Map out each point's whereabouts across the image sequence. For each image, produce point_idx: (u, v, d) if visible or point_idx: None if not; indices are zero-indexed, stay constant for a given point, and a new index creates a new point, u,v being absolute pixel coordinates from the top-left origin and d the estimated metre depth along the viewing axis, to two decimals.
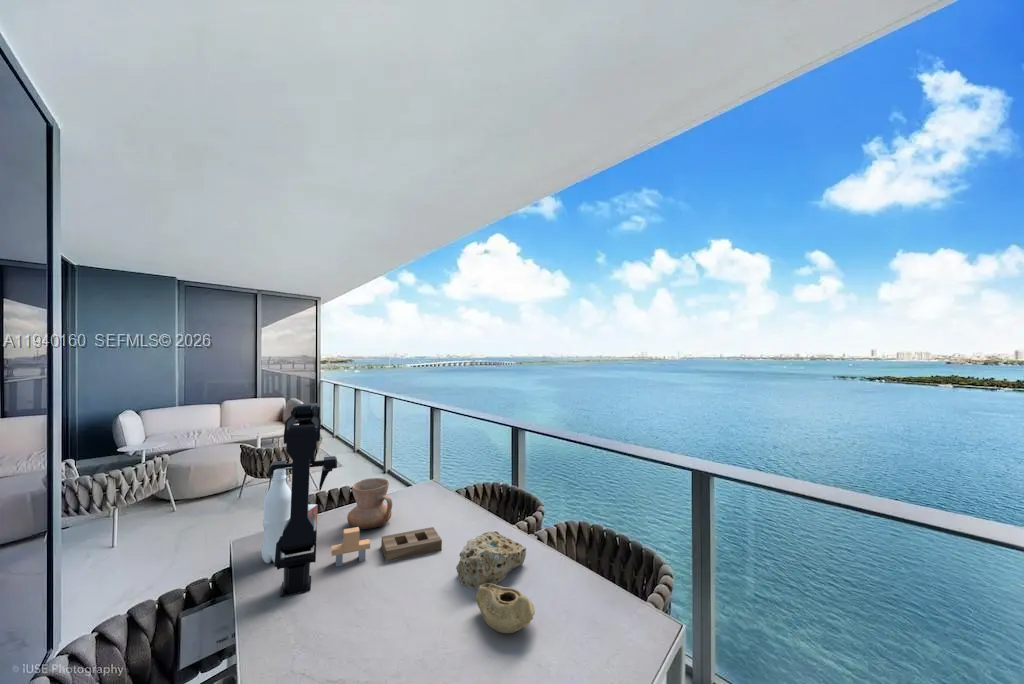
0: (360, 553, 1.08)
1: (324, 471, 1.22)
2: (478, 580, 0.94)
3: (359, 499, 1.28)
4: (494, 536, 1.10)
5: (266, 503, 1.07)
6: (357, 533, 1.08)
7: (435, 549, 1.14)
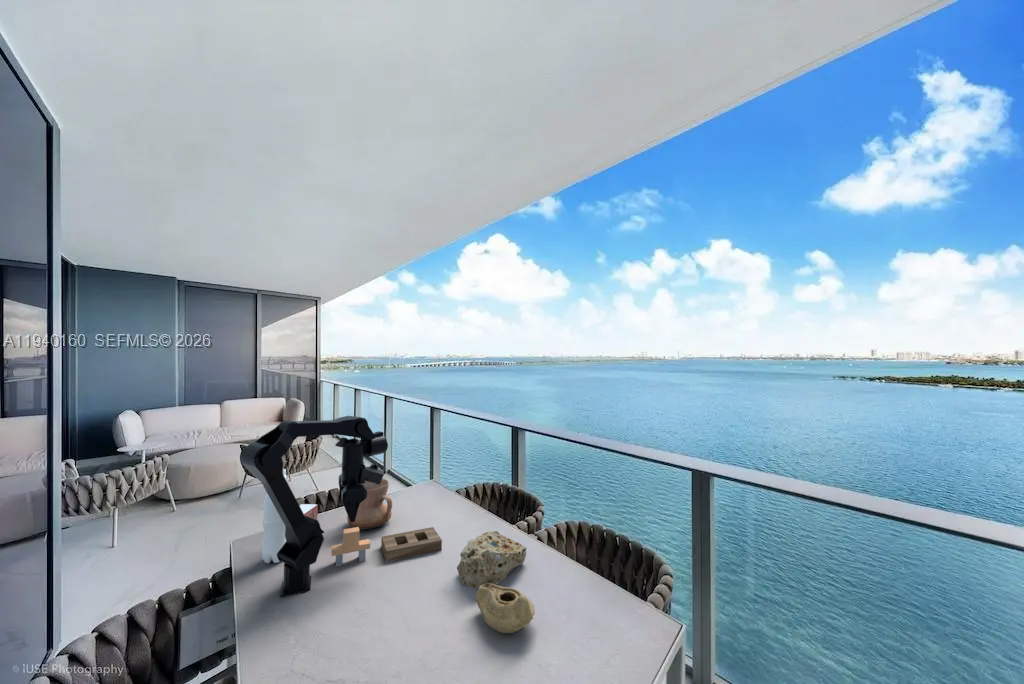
0: (360, 553, 1.08)
1: None
2: (479, 580, 0.94)
3: None
4: (494, 536, 1.10)
5: (266, 503, 1.07)
6: (357, 533, 1.08)
7: (435, 549, 1.14)
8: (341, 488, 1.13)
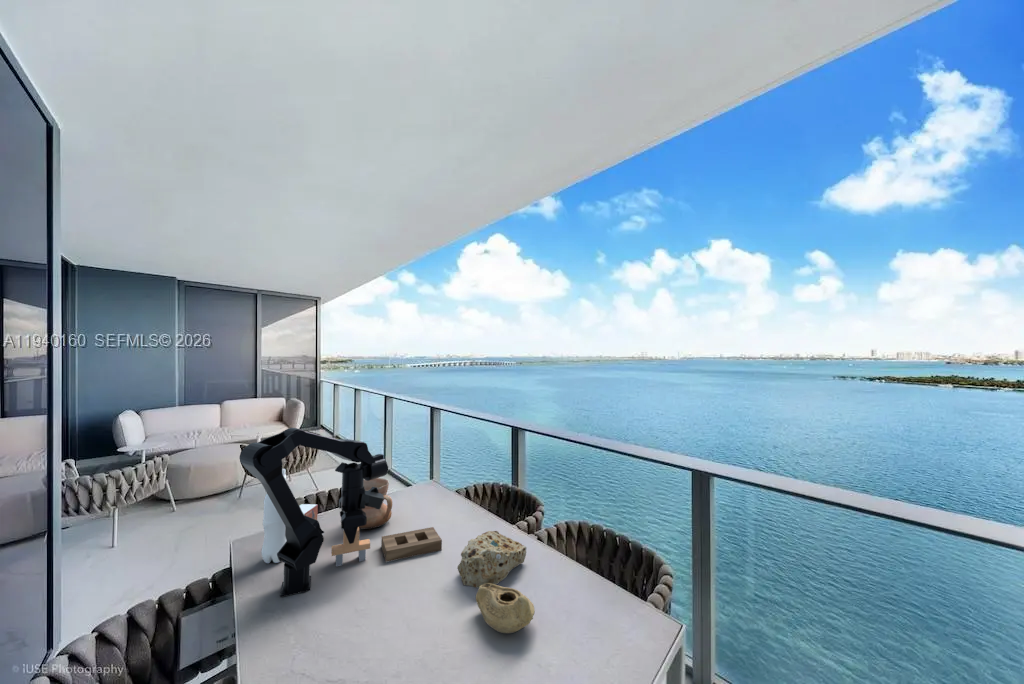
0: (360, 553, 1.08)
1: None
2: (480, 579, 0.95)
3: None
4: (494, 535, 1.11)
5: (266, 503, 1.06)
6: (357, 533, 1.08)
7: (435, 549, 1.14)
8: (342, 516, 1.10)
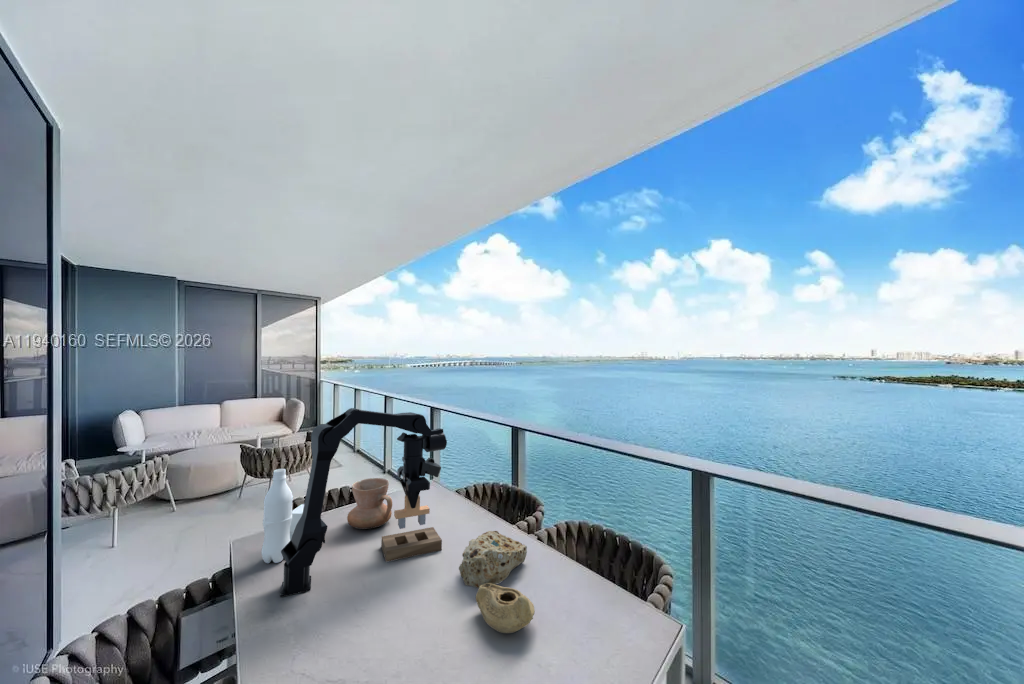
0: (421, 517, 1.16)
1: (404, 488, 1.13)
2: (483, 579, 0.95)
3: (359, 499, 1.28)
4: (494, 535, 1.11)
5: (266, 503, 1.06)
6: (418, 499, 1.16)
7: (435, 549, 1.14)
8: (403, 483, 1.18)
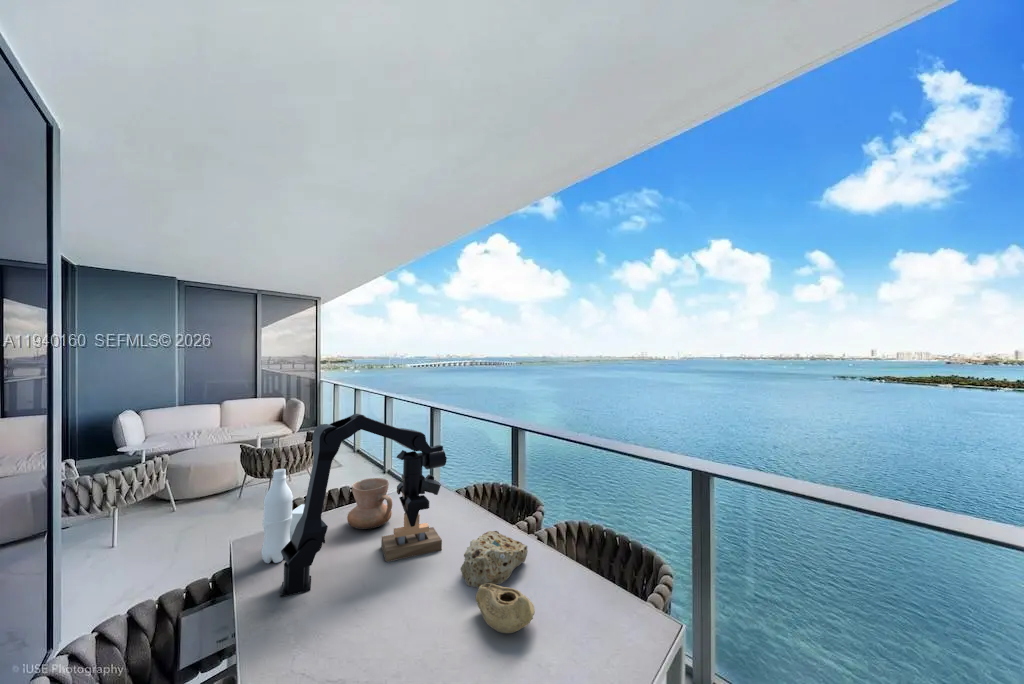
0: (420, 535, 1.16)
1: (404, 506, 1.13)
2: (485, 580, 0.95)
3: (359, 499, 1.28)
4: (495, 535, 1.11)
5: (266, 503, 1.07)
6: (417, 517, 1.16)
7: (435, 549, 1.14)
8: (402, 501, 1.17)
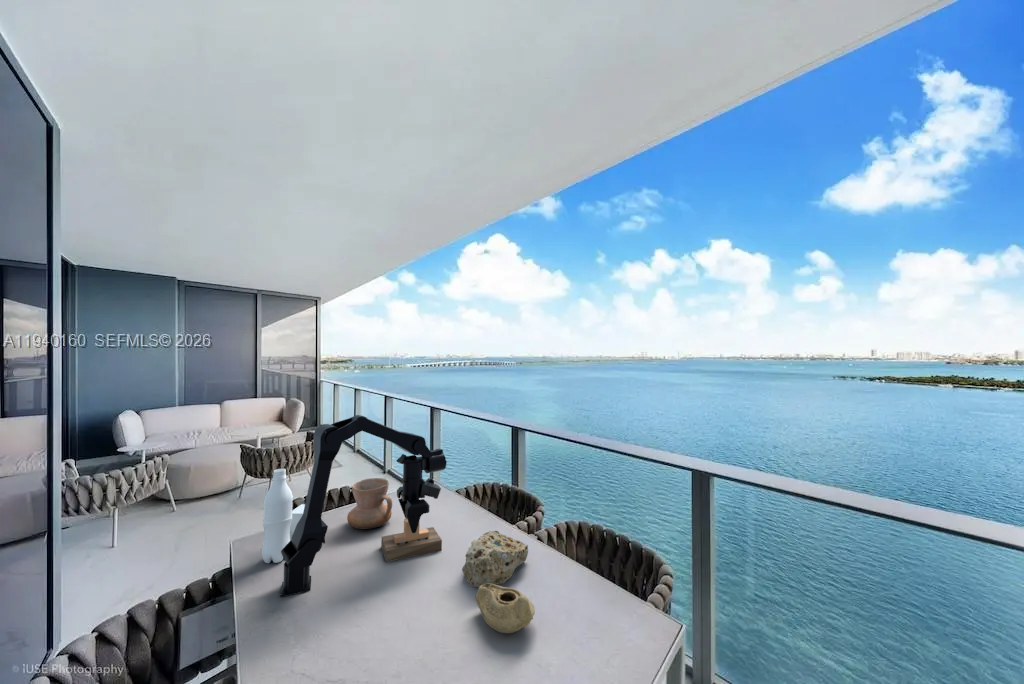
0: None
1: (405, 512, 1.11)
2: (488, 580, 0.95)
3: (359, 499, 1.28)
4: (495, 535, 1.11)
5: (266, 503, 1.06)
6: None
7: (435, 549, 1.14)
8: (401, 503, 1.19)
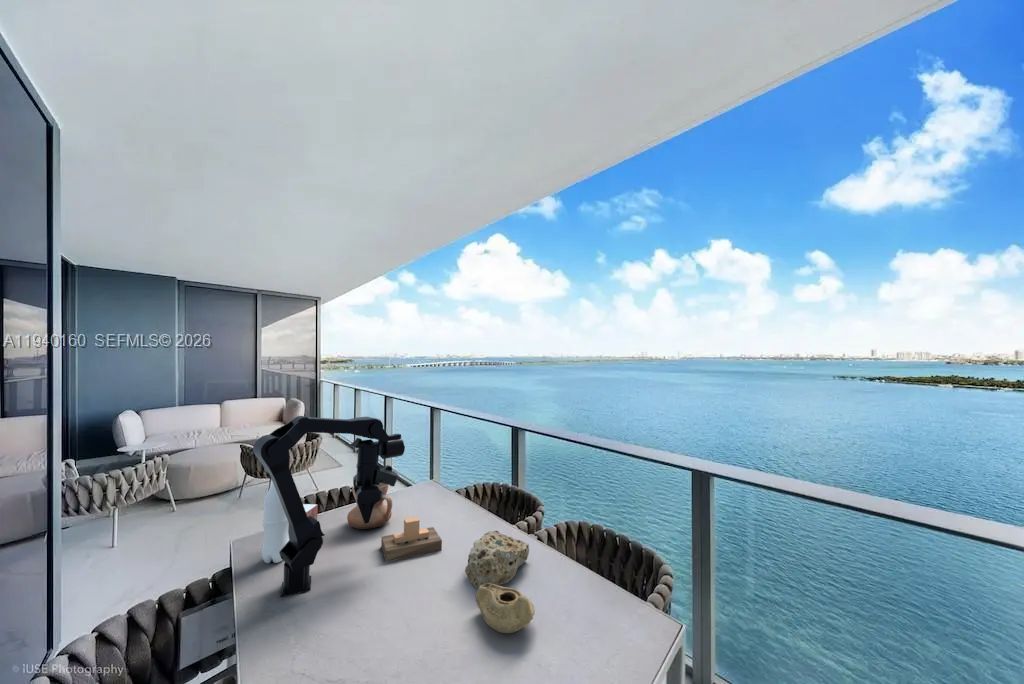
0: None
1: None
2: (492, 580, 0.95)
3: None
4: (496, 535, 1.11)
5: (266, 503, 1.07)
6: (417, 522, 1.16)
7: (435, 549, 1.14)
8: (355, 489, 1.13)
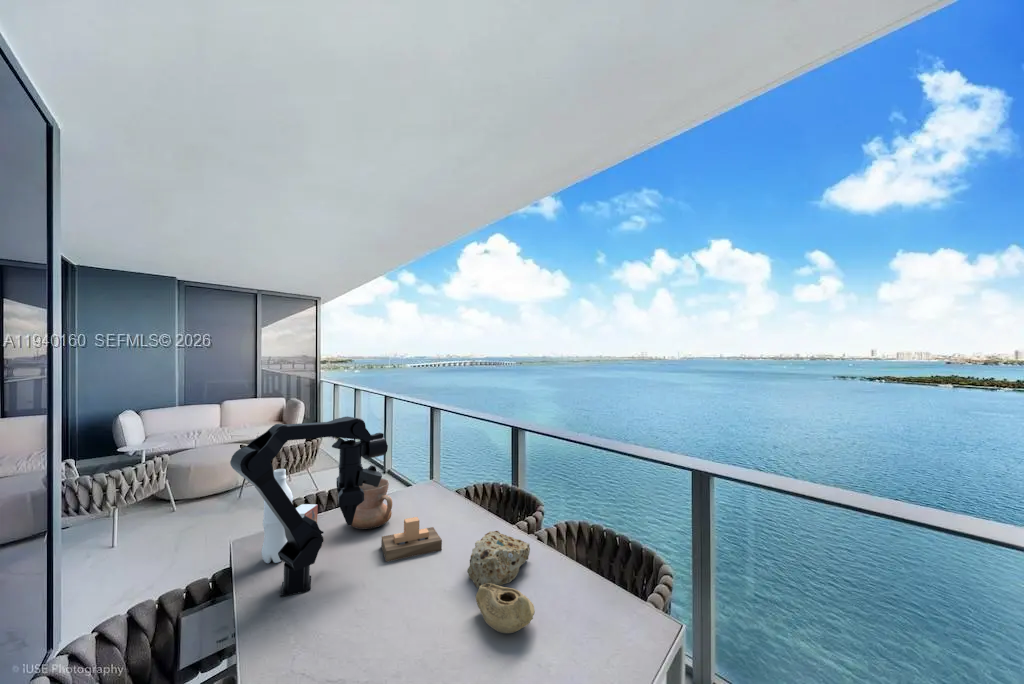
0: None
1: None
2: (496, 580, 0.95)
3: None
4: (497, 535, 1.11)
5: (266, 503, 1.06)
6: (417, 522, 1.16)
7: (435, 549, 1.14)
8: (339, 490, 1.11)
